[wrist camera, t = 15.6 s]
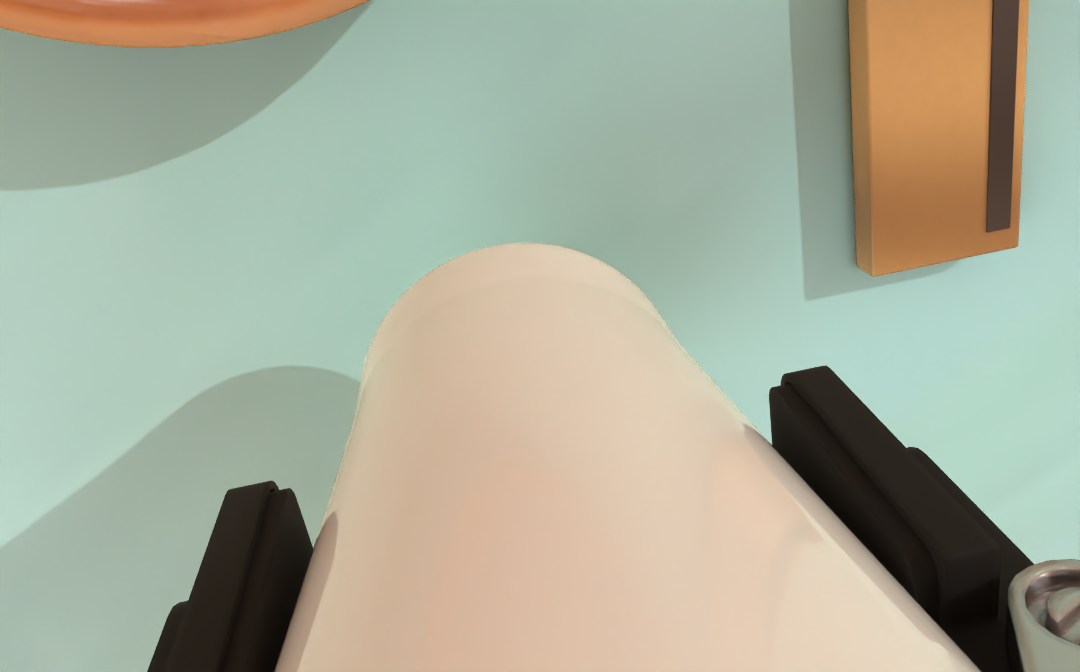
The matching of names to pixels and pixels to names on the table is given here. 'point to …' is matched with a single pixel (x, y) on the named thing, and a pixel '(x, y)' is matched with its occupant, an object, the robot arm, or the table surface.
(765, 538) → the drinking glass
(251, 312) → the table surface
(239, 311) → the table surface
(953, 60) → the ruler
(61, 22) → the saucer
